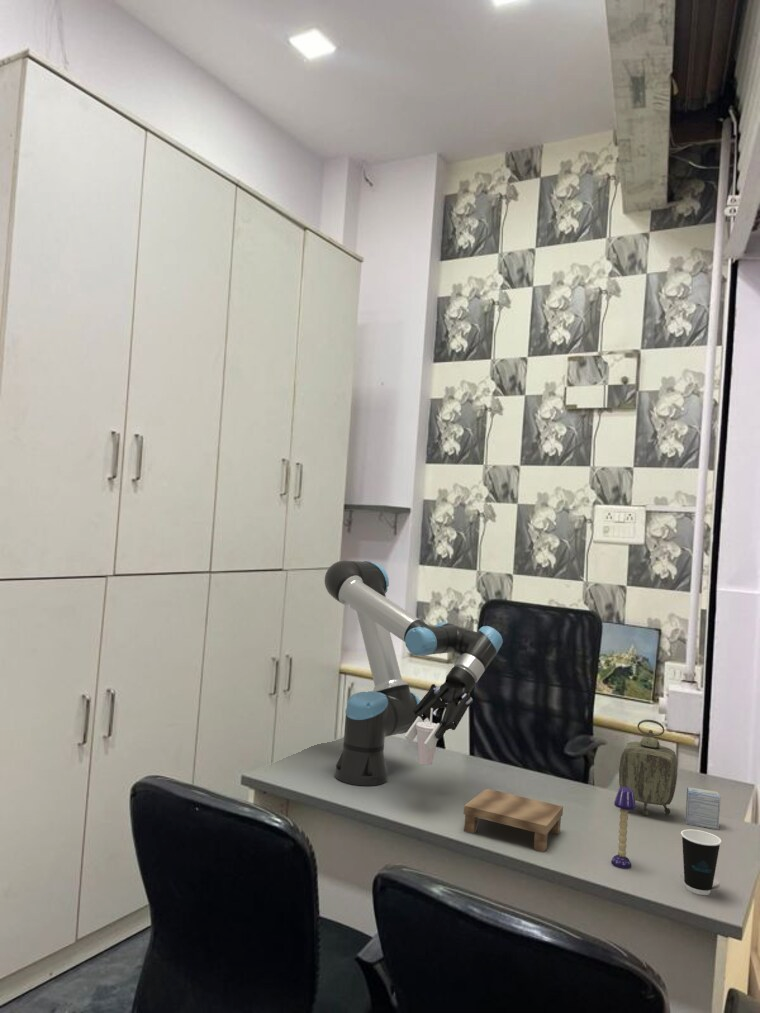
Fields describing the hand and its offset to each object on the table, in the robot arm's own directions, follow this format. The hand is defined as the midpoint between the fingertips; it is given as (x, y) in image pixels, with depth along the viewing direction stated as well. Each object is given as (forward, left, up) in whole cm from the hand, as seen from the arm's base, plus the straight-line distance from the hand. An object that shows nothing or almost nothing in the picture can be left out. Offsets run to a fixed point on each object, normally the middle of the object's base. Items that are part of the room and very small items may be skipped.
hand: (417, 743), depth 189 cm
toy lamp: (+51, +1, -17) cm, 54 cm away
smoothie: (+1, +3, -6) cm, 7 cm away
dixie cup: (+67, -2, -17) cm, 69 cm away
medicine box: (+65, +42, -18) cm, 80 cm away
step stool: (+25, +4, -17) cm, 31 cm away
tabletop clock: (+51, +41, -18) cm, 68 cm away
